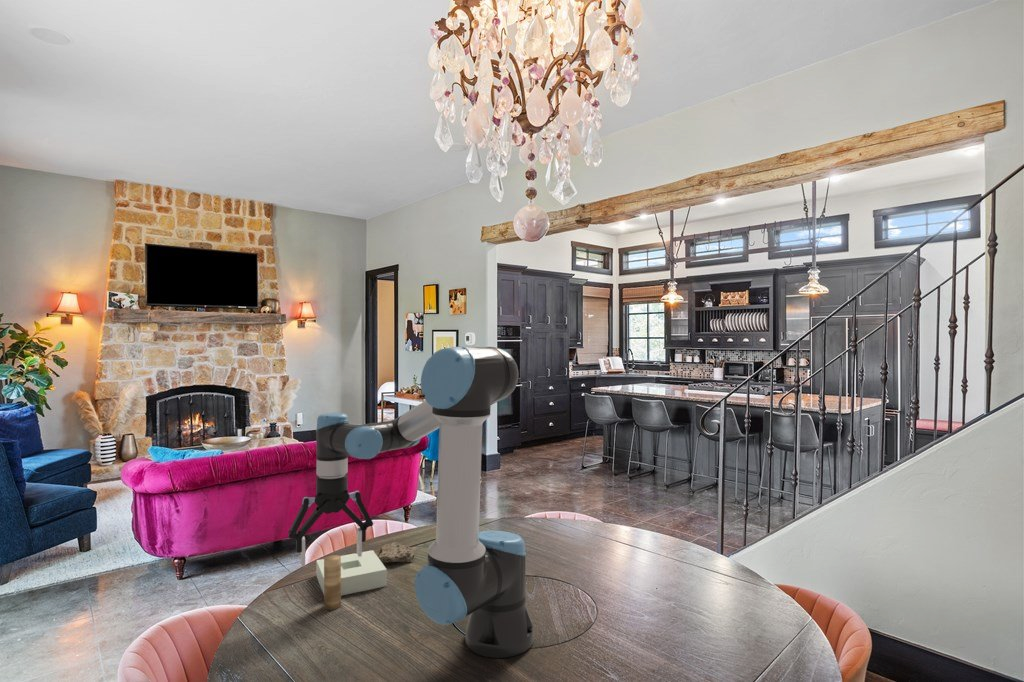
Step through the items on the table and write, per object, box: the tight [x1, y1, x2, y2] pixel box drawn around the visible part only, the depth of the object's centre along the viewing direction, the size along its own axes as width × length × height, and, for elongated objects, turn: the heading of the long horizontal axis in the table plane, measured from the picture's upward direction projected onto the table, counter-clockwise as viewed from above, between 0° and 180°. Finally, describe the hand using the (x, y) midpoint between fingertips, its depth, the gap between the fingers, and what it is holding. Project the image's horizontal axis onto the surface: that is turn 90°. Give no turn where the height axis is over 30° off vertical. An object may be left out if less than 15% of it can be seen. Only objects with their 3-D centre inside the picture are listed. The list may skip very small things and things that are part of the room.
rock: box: [377, 541, 415, 564], centre depth 166 cm, size 11×11×4 cm
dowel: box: [323, 554, 342, 611], centre depth 137 cm, size 4×4×12 cm
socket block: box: [315, 549, 388, 597], centre depth 151 cm, size 16×16×4 cm
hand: (331, 559), depth 137 cm, fingers open, 13 cm apart
